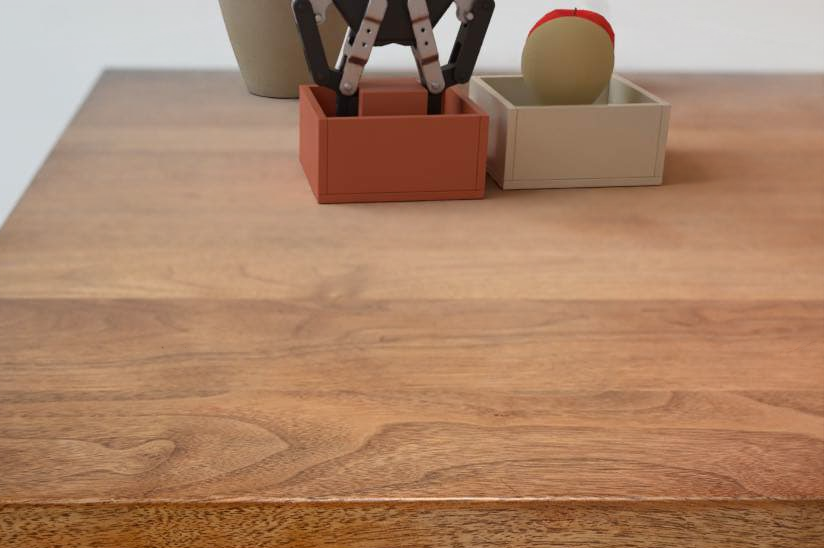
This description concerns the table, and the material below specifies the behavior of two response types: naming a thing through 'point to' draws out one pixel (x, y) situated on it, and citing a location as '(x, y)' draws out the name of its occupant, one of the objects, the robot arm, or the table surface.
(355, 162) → the terracotta bin
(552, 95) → the light bulb
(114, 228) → the table surface
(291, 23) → the plant pot
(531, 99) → the cream bin
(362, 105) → the terracotta block
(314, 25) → the robot arm
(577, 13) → the apple
